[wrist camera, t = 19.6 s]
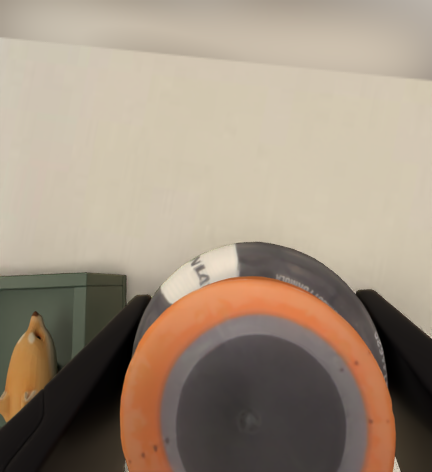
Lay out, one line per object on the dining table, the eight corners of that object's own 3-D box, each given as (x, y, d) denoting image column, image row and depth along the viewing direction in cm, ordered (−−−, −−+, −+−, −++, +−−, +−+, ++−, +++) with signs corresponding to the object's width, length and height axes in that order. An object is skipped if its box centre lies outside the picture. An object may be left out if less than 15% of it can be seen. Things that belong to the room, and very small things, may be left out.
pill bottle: (186, 276, 16) (33, 253, 5) (299, 253, 16) (406, 168, 5) (208, 397, 15) (72, 707, 4) (330, 376, 14) (572, 666, 3)
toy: (88, 306, 23) (40, 312, 18) (82, 579, 20) (23, 674, 15) (47, 308, 23) (-10, 314, 18) (36, 574, 20) (-36, 665, 16)
